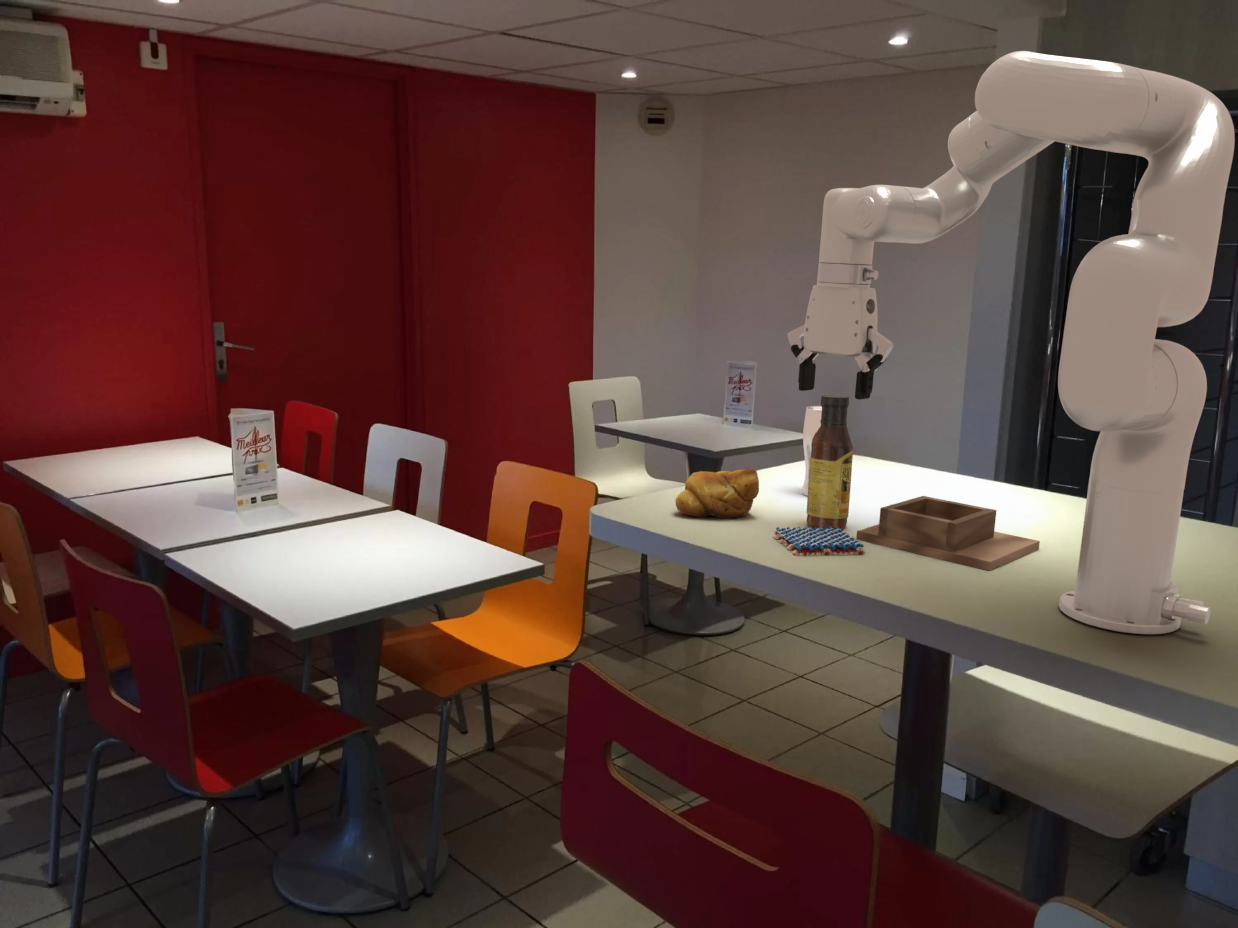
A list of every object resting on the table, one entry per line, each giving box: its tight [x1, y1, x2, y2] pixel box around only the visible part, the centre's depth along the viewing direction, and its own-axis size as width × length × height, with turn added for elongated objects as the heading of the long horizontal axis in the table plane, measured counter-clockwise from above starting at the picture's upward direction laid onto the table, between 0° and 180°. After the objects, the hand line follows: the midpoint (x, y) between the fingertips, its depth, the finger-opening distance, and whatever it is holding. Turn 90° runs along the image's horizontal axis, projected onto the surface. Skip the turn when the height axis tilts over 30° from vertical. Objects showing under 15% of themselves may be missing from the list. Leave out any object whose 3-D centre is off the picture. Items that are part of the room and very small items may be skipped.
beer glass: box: [801, 405, 822, 497], centre depth 173 cm, size 7×7×15 cm
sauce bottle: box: [806, 394, 854, 530], centre depth 151 cm, size 7×6×20 cm
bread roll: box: [674, 467, 760, 519], centre depth 158 cm, size 13×10×8 cm
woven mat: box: [772, 526, 866, 557], centre depth 142 cm, size 10×11×2 cm
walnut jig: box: [855, 495, 1041, 571], centre depth 144 cm, size 20×16×5 cm
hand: (833, 394), depth 149 cm, fingers open, 9 cm apart
